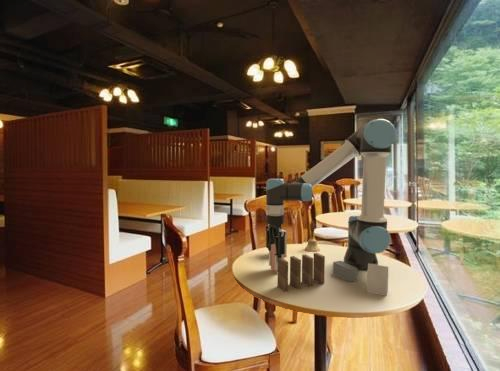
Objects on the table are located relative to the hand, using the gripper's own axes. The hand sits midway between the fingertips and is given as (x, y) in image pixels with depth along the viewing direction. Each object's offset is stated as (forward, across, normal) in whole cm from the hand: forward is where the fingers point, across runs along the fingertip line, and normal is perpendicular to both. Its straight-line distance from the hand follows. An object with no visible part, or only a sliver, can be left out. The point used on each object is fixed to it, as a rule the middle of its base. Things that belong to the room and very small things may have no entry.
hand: (275, 267), depth 125 cm
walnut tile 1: (+2, +17, -6) cm, 18 cm away
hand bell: (+2, -21, +35) cm, 41 cm away
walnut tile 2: (+2, +17, 0) cm, 17 cm away
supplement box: (+2, -20, +14) cm, 24 cm away
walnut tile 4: (+2, +17, +10) cm, 20 cm away
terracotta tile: (+1, 0, 0) cm, 1 cm away
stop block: (+2, +17, +24) cm, 29 cm away
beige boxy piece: (+3, +33, +25) cm, 41 cm away
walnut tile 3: (+2, +17, +5) cm, 18 cm away
